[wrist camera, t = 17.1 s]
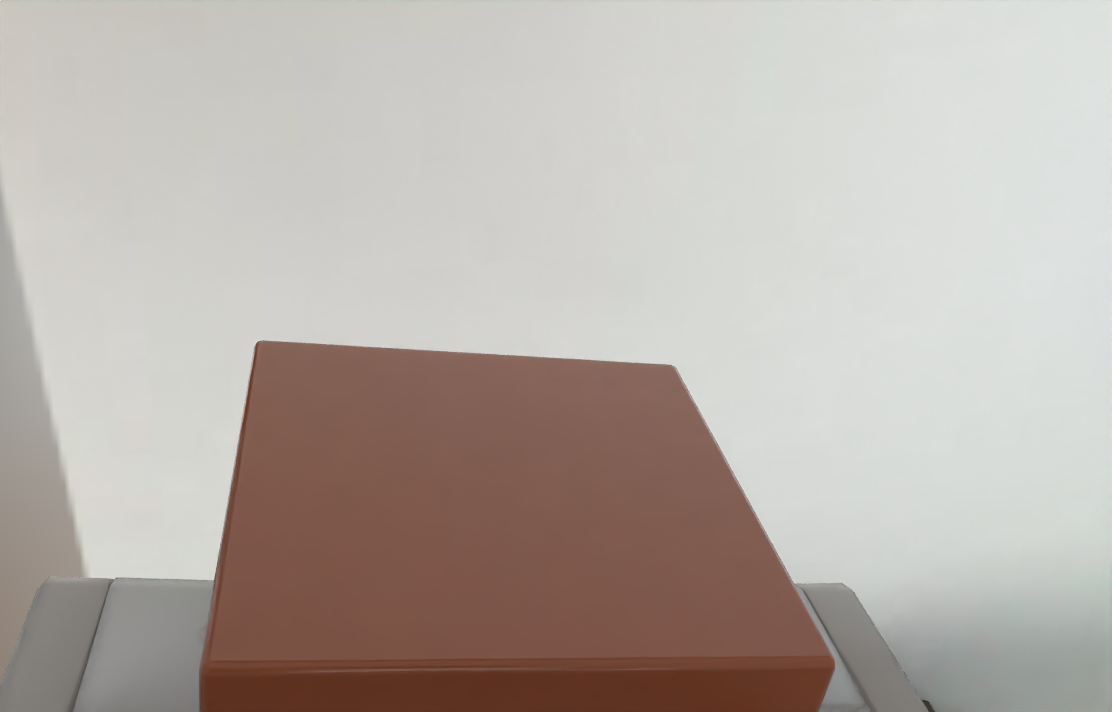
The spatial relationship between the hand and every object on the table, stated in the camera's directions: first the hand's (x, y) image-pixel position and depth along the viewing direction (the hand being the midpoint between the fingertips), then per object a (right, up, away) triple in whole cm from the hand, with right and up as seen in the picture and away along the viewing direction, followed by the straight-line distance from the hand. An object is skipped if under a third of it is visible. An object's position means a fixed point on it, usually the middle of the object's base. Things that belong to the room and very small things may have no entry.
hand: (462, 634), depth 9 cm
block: (0, +1, +1) cm, 2 cm away
